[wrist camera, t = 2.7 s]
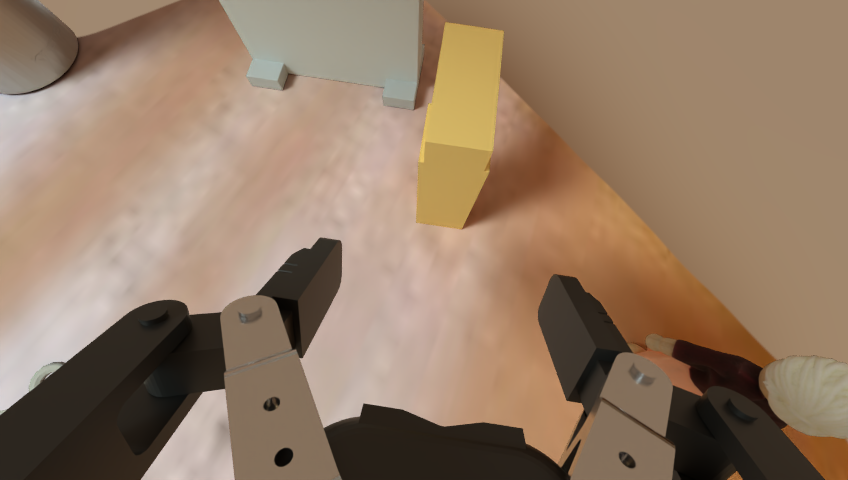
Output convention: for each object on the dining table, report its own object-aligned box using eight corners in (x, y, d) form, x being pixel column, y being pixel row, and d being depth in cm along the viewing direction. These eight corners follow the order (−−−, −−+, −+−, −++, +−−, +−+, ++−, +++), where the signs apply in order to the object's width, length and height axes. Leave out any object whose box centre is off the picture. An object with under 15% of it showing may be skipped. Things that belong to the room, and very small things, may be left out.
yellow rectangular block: (416, 222, 27) (419, 140, 15) (428, 143, 29) (440, 21, 18) (461, 229, 27) (498, 152, 15) (470, 149, 29) (509, 31, 18)
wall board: (252, 85, 30) (154, -65, 19) (272, 32, 32) (196, -134, 21) (413, 109, 30) (415, -27, 19) (424, 54, 32) (430, -100, 21)
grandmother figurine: (692, 367, 24) (972, 401, 12) (680, 415, 23) (973, 506, 11) (600, 319, 25) (777, 307, 13) (584, 364, 24) (761, 396, 12)
